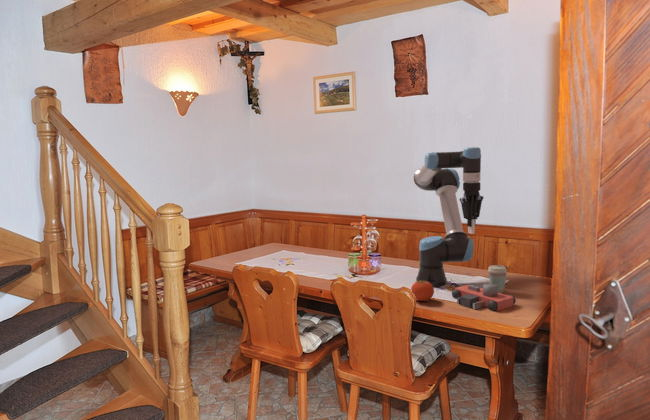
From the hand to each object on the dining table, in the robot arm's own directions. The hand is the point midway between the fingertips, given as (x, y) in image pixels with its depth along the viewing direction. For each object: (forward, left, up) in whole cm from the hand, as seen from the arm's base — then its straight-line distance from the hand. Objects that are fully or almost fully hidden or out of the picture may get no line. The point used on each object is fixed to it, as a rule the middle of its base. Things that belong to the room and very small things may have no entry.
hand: (471, 233), depth 217 cm
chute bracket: (+10, -12, -29) cm, 33 cm away
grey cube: (+10, -12, -29) cm, 33 cm away
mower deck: (+10, -4, -29) cm, 31 cm away
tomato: (-7, -24, -29) cm, 38 cm away
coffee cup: (+5, +12, -29) cm, 32 cm away
